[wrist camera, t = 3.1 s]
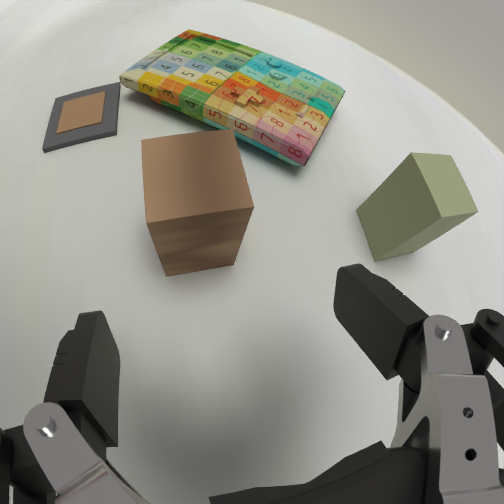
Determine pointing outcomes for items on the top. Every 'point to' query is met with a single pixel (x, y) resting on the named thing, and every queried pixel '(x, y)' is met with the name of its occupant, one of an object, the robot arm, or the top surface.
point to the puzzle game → (239, 92)
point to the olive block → (415, 205)
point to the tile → (83, 117)
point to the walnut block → (195, 199)
